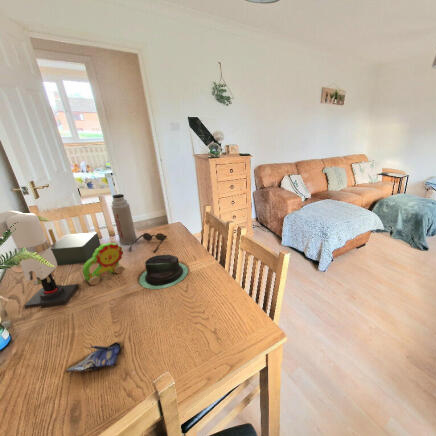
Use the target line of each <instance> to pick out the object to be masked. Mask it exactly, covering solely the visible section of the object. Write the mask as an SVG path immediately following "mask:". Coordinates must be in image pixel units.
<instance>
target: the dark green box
mask: <svg viewBox="0 0 436 436" xmlns="http://www.w3.org/2000/svg"><path fill="white" fill-rule="evenodd" d="M100 245H102V244H101V242H100V237H99V233H98V232H95V231H94V232H79V233H66V234H63V236H61V237H60V238H59V239H56V242H55V243H54V244H53V243H52V244H51V245H49V247H50V249H51V251H52V252H53V254H54V256H55V259H56V262H57V266H67V265H78V264H85V263H86V262H87V261H88V260H89V259H90V258H92V255H93V253H94V252H95V250H96V249H97V248H99V246H100Z"/></svg>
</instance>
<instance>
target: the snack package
mask: <svg viewBox="0 0 436 436" xmlns="http://www.w3.org/2000/svg"><path fill="white" fill-rule="evenodd" d="M90 349H95V351H92V352H91V353H90V354H89V355H87V356H86V358H85V359H83V360H82V361H80V362H78V363H77V364H75V365H73V366H71V367H69V368H67V370H65V372H66V373H72V372H75V373H80V372H82V373H83V372H88V371H95V370H98V369H101V368H102V369H103V368H106V367H113V368H115V366H116V364H117V361H118V357H119V353H120V351H121V349H122V348H121V343H119V342H114V343H111V344H110V345H109V346H104V345H94V346H93V345H92V344H90Z"/></svg>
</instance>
